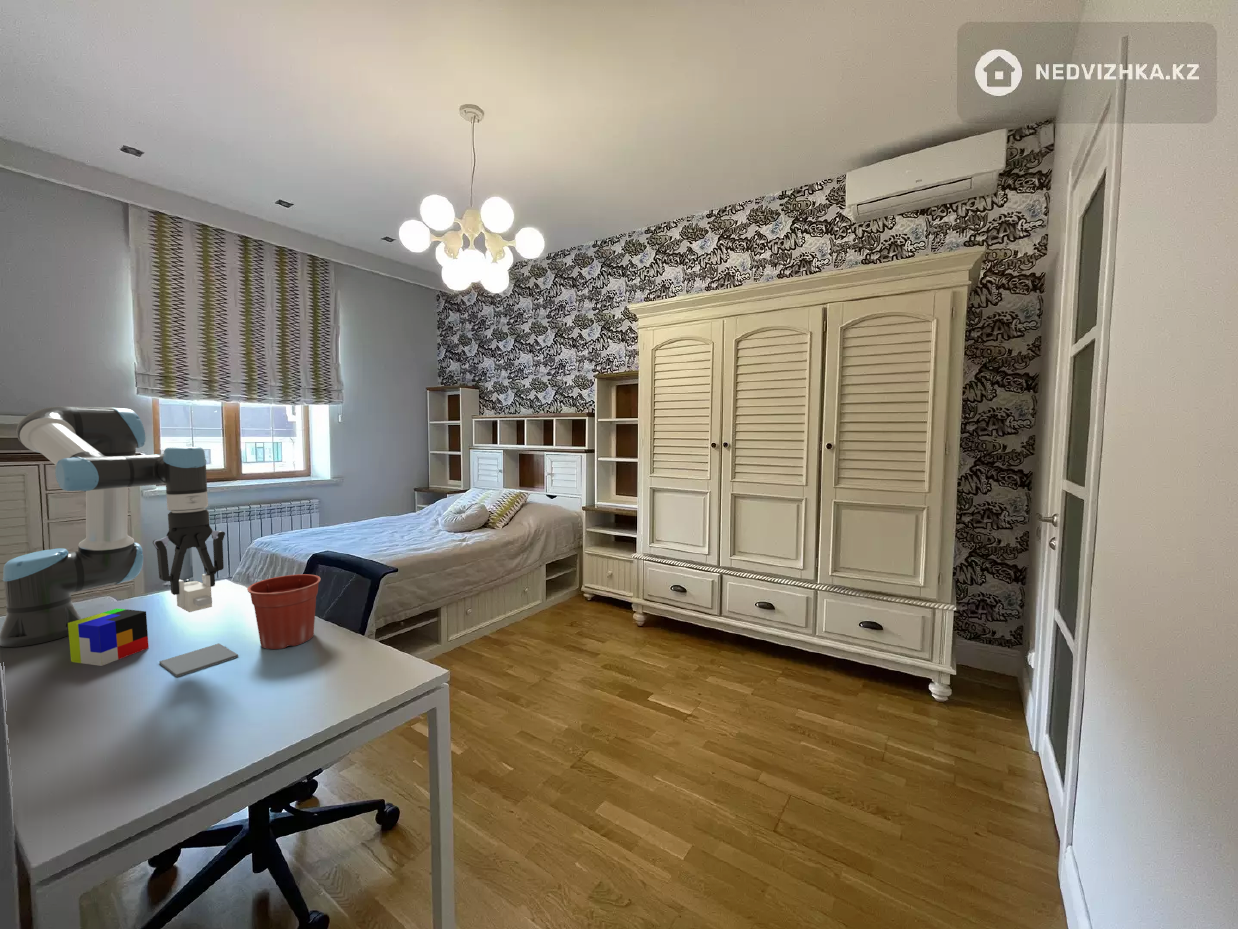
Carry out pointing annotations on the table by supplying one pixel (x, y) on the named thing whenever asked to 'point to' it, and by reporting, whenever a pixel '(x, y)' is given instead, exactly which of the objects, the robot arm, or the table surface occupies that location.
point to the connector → (197, 596)
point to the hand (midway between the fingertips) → (194, 603)
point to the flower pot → (285, 609)
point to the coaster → (198, 659)
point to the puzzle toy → (108, 636)
